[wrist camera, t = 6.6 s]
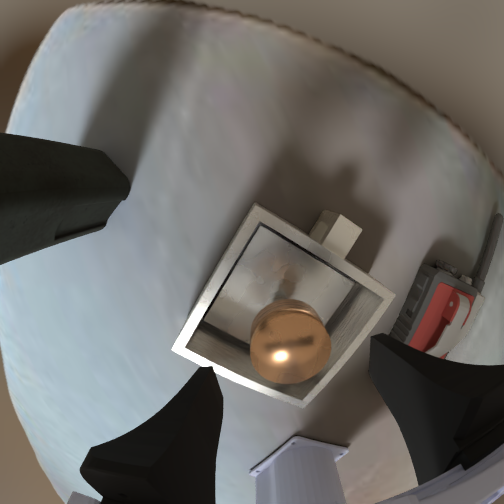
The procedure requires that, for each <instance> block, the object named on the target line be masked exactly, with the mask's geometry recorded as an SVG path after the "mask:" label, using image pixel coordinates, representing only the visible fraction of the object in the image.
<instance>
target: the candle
mask: <svg viewBox="0 0 504 504" xmlns="http://www.w3.org/2000/svg"><path fill="white" fill-rule="evenodd" d="M129 191H130V184H129V181H128V179H127V177H126V176H125V175H124V174H123V173H122V172H121V171H120V169H119V168H118V167H117V166H116V165H115V164H114V163H113V162H112V161H111V160H110V159H109V158H108V156H107V155H106V154H105V153H104V152H102V151H100V150H96V149H91V148H86V147H81V146H77V145H72V144H66V143H61V142H56V141H50V140H45V139H39V138H33V137H27V136H20V135H13V134H6V133H0V265H2V264H4V263H7V262H9V261H12V260H14V259H17V258H20V257H22V256H25V255H28V254H30V253H33V252H36V251H39V250H42V249H44V248H47V247H50V246H53V245H56V244H59V243H62V242H65V241H68V240H71V239H74V238H77V237H80V236H83V235H86V234H89V233H93V232H96V231H99V230H101V229H103V228H104V227H105V226H106V223H105V222H106V221H107V219H108V218H109V217H110V215H111V214H112V213H113V211H114V210H115V209H116V207H117V206H118V205H119V203H120V202H121V201H122V200H126V198H127V196H128V194H129Z"/></svg>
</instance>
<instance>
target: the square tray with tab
mask: <svg viewBox="0 0 504 504" xmlns="http://www.w3.org/2000/svg"><path fill="white" fill-rule="evenodd" d="M259 221H261V222H262V223H264V224H266V225H267V226H269V227H271V228H272V229H274V230H276V231H277V232H279V233H281V234H282V235H284V236H286V237H287V238H289V239H290V240H292V241H294V242H295V243H297V244H299V245H300V246H302V247H303V248H305V249H307V250H308V251H310V252H312V253H313V254H315V255H316V256H318V257H320V258H321V259H323V260H324V261H326V262H328V263H329V264H331V265H332V266H334V267H336V268H337V269H339V270H340V271H342V272H343V273H345V274H347V275H348V276H350V277H351V278H353V279H354V280H356V282H355V283H354V285H353V286H352V288H351V289H350V291H349V292H348V294H347V295H346V297H345V298H344V300H343V301H342V302H341V304H340V305H339V307H338V308H337V309H336V311H335V312H334V314H333V315H332V316H331V318H330V319H329V321H328V322H327V323H326V325H325V326H324V327H325V329H326V331H327V333H328V334H329V337H330V340H331V353H330V357H329V359H328V361H327V363H326V364H325V366H324V367H323V368H322V369H321V370H320V371H319V372H318V373H317V374H316V375H314V376H313V377H311V378H309V379H307V380H304V381H302V382H298V383H293V384H281V383H275V382H272V381H269V380H267V379H265V378H264V377H262V376H261V375H260V374H259V373H258V372H257V371H256V370H255V368H254V367H253V364H252V362H251V357H250V344H248V343H246V342H244V341H242V340H240V339H238V338H236V337H234V336H233V335H231V334H229V333H227V332H225V331H223V330H221V329H219V328H217V327H215V326H213V325H212V324H210V323H208V322H206V321H204V320H202V319H201V318H202V316H203V315H204V313H205V311H206V310H207V308H208V306H209V305H210V303H211V301H212V300H213V298H214V296H215V295H216V293H217V291H218V289H219V288H220V286H221V284H222V283H223V281H224V279H225V278H226V276H227V274H228V273H229V271H230V269H231V268H232V266H233V264H234V263H235V261H236V259H237V258H238V256H239V254H240V253H241V251H242V249H243V248H244V246H245V244H246V243H247V241H248V239H249V238H250V236H251V235H252V233H253V231H254V230H255V228H256V226H257V225H258V223H259ZM361 231H362V229H361V228H359V227H358V226H357V225H355V224H354V223H352V222H351V221H350V220H348V219H347V218H345V217H344V216H342V215H341V214H338V213H334V212H331V211H327V210H323V212H322V214H321V215H320V217H319V219H318V220H317V222H316V223H315V225H314V227H313V228H312V230H311V231H310V233H309V235H308V234H307V233H305V232H304V231H302V230H300V229H299V228H297V227H296V226H294V225H292V224H291V223H289V222H287V221H286V220H284V219H283V218H281V217H279V216H278V215H276V214H274V213H273V212H271V211H269V210H268V209H266V208H264V207H263V206H261V205H259V204H258V203H256V202H254V204H253V205H252V207H251V209H250V210H249V212H248V214H247V215H246V217H245V219H244V220H243V222H242V224H241V225H240V227H239V229H238V230H237V232H236V234H235V235H234V237H233V239H232V240H231V242H230V244H229V246H228V247H227V249H226V251H225V252H224V254H223V256H222V258H221V259H220V261H219V263H218V264H217V266H216V268H215V270H214V271H213V273H212V275H211V277H210V278H209V280H208V282H207V283H206V285H205V287H204V289H203V290H202V292H201V294H200V296H199V297H198V299H197V301H196V303H195V305H194V306H193V308H192V310H191V312H190V313H189V315H188V317H187V319H186V321H185V323H184V325H183V327H182V329H181V331H180V333H179V335H178V337H177V339H176V342H175V344H174V346H173V348H172V350H173V351H175V352H177V353H179V354H181V355H182V356H184V357H186V358H188V359H190V360H192V361H194V362H196V363H198V364H200V365H202V366H213V368H214V371H215V372H216V373H218V374H220V375H222V376H224V377H227V378H229V379H231V380H233V381H235V382H238V383H240V384H242V385H245V386H247V387H249V388H252V389H254V390H256V391H259V392H261V393H264V394H266V395H269V396H271V397H274V398H276V399H279V400H282V401H284V402H287V403H290V404H293V405H295V406H298V407H301V408H305V407H306V406H307V405H308V404H309V403H310V402H311V401H312V400H313V399H314V397H315V396H316V395H317V394H318V393H319V392H320V391H321V390H322V389H323V388H324V387H325V386H326V385H327V383H328V382H329V381H330V380H331V379H332V378H333V377H334V376H335V374H336V373H337V372H338V371H339V370H340V369H341V367H342V366H343V365H344V364H345V363H346V362H347V360H348V359H349V358H350V357H351V356H352V354H353V353H354V352H355V351H356V349H357V348H358V347H359V346H360V344H361V343H362V342H363V340H364V339H365V338H366V337H367V335H368V334H369V333H370V331H371V330H372V329H373V327H374V326H375V325H376V323H377V322H378V320H379V319H380V318H381V316H382V315H383V313H384V312H385V311H386V309H387V308H388V306H389V305H390V303H391V302H392V300H393V299H394V297H395V296H396V295H395V294H394V293H393V292H391V291H390V290H389V289H388V288H386V287H385V286H384V285H382V284H381V283H380V282H379V281H377V280H376V279H375V278H373V277H372V276H371V275H369V274H368V273H367V272H365V271H364V270H362V269H361V268H359V267H358V266H356V265H355V264H353V263H352V262H350V261H349V260H347V259H346V258H345V257H346V255H347V254H348V252H349V251H350V249H351V248H352V246H353V244H354V243H355V241H356V239H357V238H358V236H359V235H360V233H361Z"/></svg>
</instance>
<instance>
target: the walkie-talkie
mask: <svg viewBox="0 0 504 504" xmlns="http://www.w3.org/2000/svg"><path fill="white" fill-rule="evenodd" d="M502 222H503V216H502V215H501V214H500V213H497V214H496V215H495V217H494V221H493V225H492V229H491V233H490V236H489V239H488V243H487V246H486V249H485V252H484V255H483V258H482V261H481V264H480V267H479V270H478V272H477V275H476V277H474V280H473V282H472V284H471V281H472V279H471V278H469V277H467V276H464V275H462V276H461V278H459V280H458V279H457V278H455V277H453V276H452V275H453V274H454V275H455V274H456V273H457V269H456V268H455V267H453V266H451V265H449V264H447V263H445V262H442V261H440V260H437V261H436V266H437V269H435V268H433V267H431V266H429V265H426V264H423V265H422V266H421V267H420V269H419V271H418V274H417V276H416V278H415V281H414V283H413V285H412V288H411V290H410V292H409V294H408V297H407V299H406V301H405V303H404V305H403V307H402V310H401V312H400V314H399V315H400V316H399V318H397V322H396V324H394V327H393V329H392V330H391V333H390V335H388V336H390V337H392V338H394V339H396V340H398V341H400V342H402V343H404V344H406V345H409V346H411V347H413V348H415V349H417V350H420V351H422V352H425V353H427V354H430V355H432V356H435V357H438V358H442V359H445V358H446V356H447V354H448V353H449V351H450V350H451V349H452V348H454V347H455V346H456V345H457V344H458V343H459V342H460V341H461V340H462V339H463V338H464V337H466V335H467V334H468V332H469V330H470V328H471V326H472V324H473V322H474V320H475V318H476V315H477V313H478V311H479V309H480V307H481V306H482V304H483V302H484V300H485V297H483V296H481V295H480V294H481V291H482V289H483V286H484V283H485V282H484V280H485V277H486V275H487V272H488V269H489V266H490V263H491V260H492V257H493V254H494V251H495V248H496V244H497V241H498V238H499V234H500V230H501V226H502ZM368 371H369V370H368ZM369 375H370V378H371V379H372V376H371V374H370V372H369ZM372 381H373V379H372ZM373 383H374V381H373ZM374 385H375V384H374ZM378 392H379V391H378Z"/></svg>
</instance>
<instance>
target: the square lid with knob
mask: <svg viewBox="0 0 504 504" xmlns="http://www.w3.org/2000/svg"><path fill="white" fill-rule="evenodd" d="M353 285H354V283H353V282H352V281H351V280H350V279H348V278H346V277H345V276H343V275H342V274H340V273H339V272H337V271H335V270H334V269H332V268H331V267H329V266H327V265H326V264H324V263H323V262H321V261H319V260H318V259H316V258H315V257H313V256H311V255H310V254H308V253H306V252H305V251H303V250H302V249H300V248H298V247H297V246H295V245H293V244H292V243H290V242H288V241H287V240H285V239H284V238H282V237H280V236H279V235H277V234H275V233H274V232H272V231H270V230H269V229H267V228H265V227H264V226H262V225H260V226H259V228H258V230H257V231H256V233H255V234H254V236H253V238H252V239H251V241H250V243H249V244H248V246H247V248H246V249H245V251H244V253H243V254H242V256H241V258H240V259H239V261H238V263H237V264H236V266H235V268H234V269H233V271H232V273H231V274H230V276H229V278H228V279H227V281H226V282H225V284H224V286H223V287H222V289H221V291H220V292H219V294H218V296H217V297H216V299H215V301H214V302H213V304H212V306H211V308H210V309H209V311H208V313H207V314H206V316H205V318H204V321H206V322H208V323H210V324H212V325H213V326H215V327H217V328H219V329H221V330H223V331H225V332H227V333H229V334H231V335H233V336H234V337H236V338H238V339H240V340H242V341H244V342H246V343H248V344H250V357H251V362H252V364H253V367H254V368H255V370H256V371H257V372H258V373H259V374H260V375H261V376H262V377H264V378H265V379H267V380H269V381H272V382H275V383H281V384H293V383H298V382H302V381H304V380H307V379H309V378H311V377H313V376H314V375H316V374H317V373H318V372H319V371H320V370H321V369H322V368H323V367H324V366H325V364H326V363H327V361H328V359H329V357H330V353H331V340H330V337H329V334H328V333H327V331H326V329H325V327H324V326H325V325H326V323H327V322H328V321H329V319H330V318H331V316H332V315H333V314H334V312H335V311H336V309H337V308H338V307H339V305H340V304H341V302H342V301H343V300H344V298H345V297H346V295H347V294H348V292H349V291H350V289H351V288H352V286H353Z"/></svg>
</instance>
